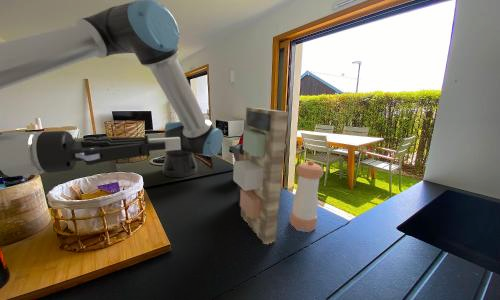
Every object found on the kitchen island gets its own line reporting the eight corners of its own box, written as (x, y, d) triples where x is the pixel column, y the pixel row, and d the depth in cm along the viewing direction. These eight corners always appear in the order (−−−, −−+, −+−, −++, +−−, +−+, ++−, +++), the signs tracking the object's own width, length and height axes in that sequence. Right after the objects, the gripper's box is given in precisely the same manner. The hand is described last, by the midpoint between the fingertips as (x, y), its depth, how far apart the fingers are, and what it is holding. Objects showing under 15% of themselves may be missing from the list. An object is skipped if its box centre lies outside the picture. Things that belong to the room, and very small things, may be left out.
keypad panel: (238, 215, 61) (244, 107, 53) (249, 213, 63) (256, 107, 55) (262, 245, 49) (274, 111, 41) (275, 241, 51) (288, 111, 43)
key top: (242, 149, 52) (243, 130, 51) (259, 148, 55) (260, 129, 53) (255, 156, 46) (257, 135, 45) (274, 155, 49) (275, 134, 47)
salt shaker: (314, 235, 54) (325, 167, 50) (287, 228, 56) (295, 162, 52) (316, 221, 61) (325, 159, 56) (291, 215, 63) (298, 155, 59)
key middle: (233, 179, 53) (233, 161, 52) (250, 177, 55) (251, 159, 54) (244, 190, 47) (245, 170, 46) (263, 187, 49) (264, 168, 48)
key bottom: (239, 205, 56) (240, 189, 55) (255, 202, 58) (256, 186, 57) (251, 219, 50) (252, 200, 49) (268, 215, 52) (270, 197, 51)
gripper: (59, 161, 43) (176, 151, 54) (32, 186, 32) (186, 167, 43) (51, 126, 41) (174, 123, 52) (20, 140, 30) (184, 132, 41)
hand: (179, 143), depth 48 cm, fingers closed
